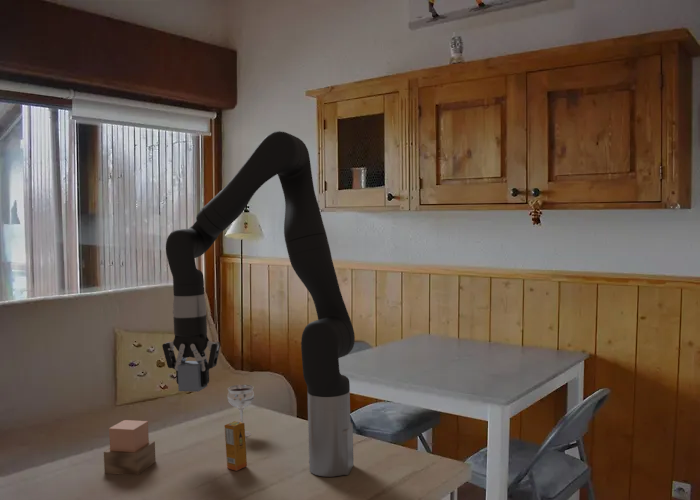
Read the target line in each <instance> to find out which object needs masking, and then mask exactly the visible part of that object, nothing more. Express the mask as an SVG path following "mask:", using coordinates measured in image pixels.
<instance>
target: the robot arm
mask: <svg viewBox="0 0 700 500" xmlns="http://www.w3.org/2000/svg"><path fill="white" fill-rule="evenodd" d="M309 153H310V152H309V150H308V147H307V146H306V144H305V142H304V141H303V140H302V139H301V138H299V137H297V136H295V135H293V134H291V133H288V132H285V131H281V130H278V131H274V132H271V133H269V134H267V135H266V136H265V138H263V139H262V141H261V142H259V144H258V146H257V147H256V148H255V149H254V151H253V152H252V154H250V156H249V158H248V159H247V160H246V162H245V163H244V164H243V165H242V166H241V168H240V169H239V170H238V172H237V173H236V174H235V175H234V176H233V177H232V179H231V180H230V181H228V183H227V184H226V185H225V186H224V187H223V188H222V189H221V190H220V191H219V192H218V193H217V194H216V195H215V196H214V197H213V198H211V200H210V201H208V203H206V204H205V205H204V206H203V207H202V209H200V210H199V211H198V213H197V214H196V219H195V220H196V221H195V222H194V223H193V224H192V225H191V226H190V227H189V228H179V229H175V230H172V232H170V233H169V235H168V236H167V238H166V242H165V254H166V258H167V263H168V265H169V270H170V272H171V275H172V287H173V289H172V290H173V299H172V300H173V302H172V316H173V333H174V338H173V341H167V342H165V343H163V344H162V345H161V346H162V351H163V353H164V354H163V355H164V358H165V362H166V365H167V368H168V369H173V370H174V371H175V378H176V384H177V385H178V365H180V364H182V363H185V362H186V361H188V360H187V359H188V358H193V359H195V361H197V363H198V364H199V365H200V369H201V387H205V386H207V387H208V384H210V369H213V368H215V367H216V366H217V364H218V359H219V354H220V348H221V343H220V342H219V341H216V342H214V341H210V340H209V338H208V335H207V334H208V321H207V320H208V319H207V302H206V297H205V280H204V278H205V277H204V273H203V272H202V271H201V270H199V269H198V268H197V266H196V259H197V258H199V257H201V256H203V255H204V254H205V253H206V252H208V250H209V249H210V248H211V247H212V245H214V243H215V241H216V240H217V239H218V237H219V236H220V235H221V234H222V233H223V232H224V231H225V230H226V229H227V228H228V227H229V226H231V225H232V224H233V223H234V222H235V221H236V220H237V219H238V218H239V217H240V216H241V215H242V214H243V212H244V211H245V209H246V208H247V206H248V204H249V203H250V202H251V199H253V196H254V195H255V193H256V192H257V191H258V190H259V189H260V188H261V187H263V185H264V184H266V182H268V181H269V180H271V179H272V178H274V177H275V176H278V179H279V182H280V185H281V188H282V193H283V196H284V197H283V198H284V203H285V206H284V207H285V210H284V221H283V225H284V226H283V234H284V235H283V236H284V242H285V245H286V247H285V248H286V251H287V253H288V258H289V262H290V265H291V268H292V269H293V270H294V272H295V274H296V275H297V277H298V278H299V280H300V281H301V282H302V284H303V286H305V288H306V289H307V291H308V293H309V295H310V296H311V298H312V301H313V303H314V307H315V310H316V315H317V319H316V320H313V321H310V322H309V323H307V325H306V326H305V327H304V329H303V330H302V335H301V338H300V339H301V342H300V347H301V348H300V349H301V363H302V364H301V365H302V374H303V379H304V382H305V385H306V387H307V389H306V390H307V391H306V392H307V425H308V427H307V428H308V430H307V431H308V464H309V465H308V467H309V469H308V470H309V472H310V473H311V474H313V475H314V476H315V475H316V476H319V477H324V478H325V477H327V478H329V477H339V476H348V475H350V472H351V471H352V470H353V469H352V468H353V466H354V429H353V428H354V427H353V425H354V424H353V422H351V399H350V398H351V397H350V396H351V391H350V390H351V389H350V383H351V382H350V379H349V378H348V377H347V376H346V375H345V374H341V371H340V370H341V369H340V362H339V360H340V358H343V357H345V356H347V355H348V354H350V353H351V352H352V350H353V349H354V345H355V340H356V339H355V338H356V337H355V330H354V327H353V324H352V323H353V322H352V320H351V318H350V315H349V311H348V308H347V307H346V304H345V301H344V297H343V295H342V291H341V289H340V285H339V281H338V276H337V273H336V269H335V265H334V263H333V257H332V252H331V248H330V243H329V239H328V236H327V232H326V229H325V225H324V222H323V216H322V212H321V210H320V206H319V202H318V200H317V196H316V192H315V191H316V190H315V187H314V186H315V185H314V181H313V174H312V173H313V172H312V167H311V166H312V165H311V159H310V154H309ZM207 347H208V351H209V357H208V356H207V353H206V349H207ZM175 349H176V351H178V354H177V356H176V354H175V351H174V350H175ZM205 388H206V387H205Z"/></svg>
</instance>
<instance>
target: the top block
mask: <svg viewBox="0 0 700 500" xmlns="http://www.w3.org/2000/svg"><path fill="white" fill-rule="evenodd" d="M108 432H109V435H108V436H109V448H110V451H124V452H136V451H137V450H139V449H140V448H142V447H143V446H145V445H146V444H148V443H149V441H150V440H149V438H150V437H149V435H150V434H149V421H148V420H133V419H132V420H130V419H123V420H122V421H119V422H118V423H116V424H114V425H112V426H111V427H109V428H108Z"/></svg>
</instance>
